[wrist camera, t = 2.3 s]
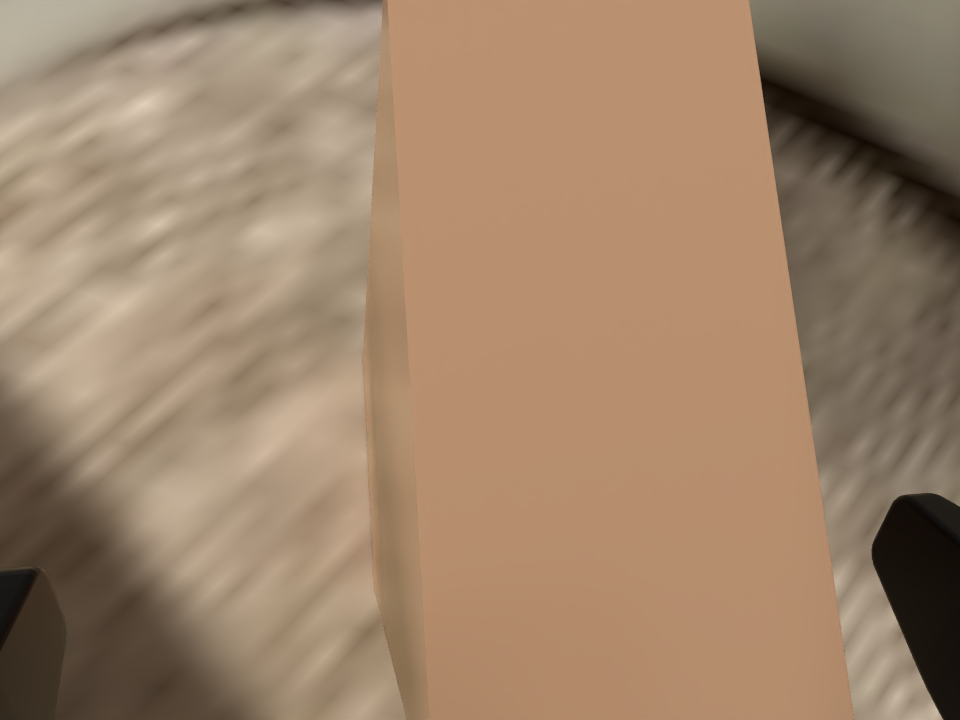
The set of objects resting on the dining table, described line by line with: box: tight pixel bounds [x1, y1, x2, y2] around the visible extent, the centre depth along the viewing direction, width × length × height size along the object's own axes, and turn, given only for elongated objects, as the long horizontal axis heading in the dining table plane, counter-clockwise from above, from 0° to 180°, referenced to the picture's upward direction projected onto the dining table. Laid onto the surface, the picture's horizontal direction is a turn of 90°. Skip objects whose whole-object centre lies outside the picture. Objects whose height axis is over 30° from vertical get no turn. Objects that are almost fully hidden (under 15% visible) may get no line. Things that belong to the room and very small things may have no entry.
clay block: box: [363, 0, 854, 720], centre depth 11 cm, size 5×2×13 cm, turn 4°
